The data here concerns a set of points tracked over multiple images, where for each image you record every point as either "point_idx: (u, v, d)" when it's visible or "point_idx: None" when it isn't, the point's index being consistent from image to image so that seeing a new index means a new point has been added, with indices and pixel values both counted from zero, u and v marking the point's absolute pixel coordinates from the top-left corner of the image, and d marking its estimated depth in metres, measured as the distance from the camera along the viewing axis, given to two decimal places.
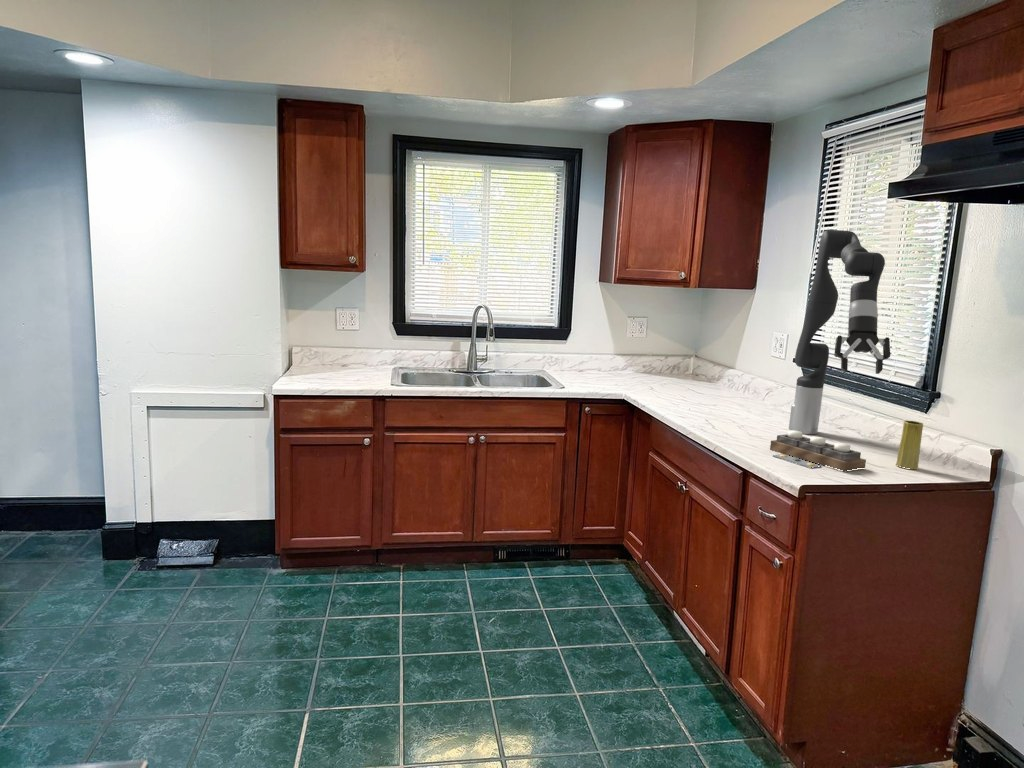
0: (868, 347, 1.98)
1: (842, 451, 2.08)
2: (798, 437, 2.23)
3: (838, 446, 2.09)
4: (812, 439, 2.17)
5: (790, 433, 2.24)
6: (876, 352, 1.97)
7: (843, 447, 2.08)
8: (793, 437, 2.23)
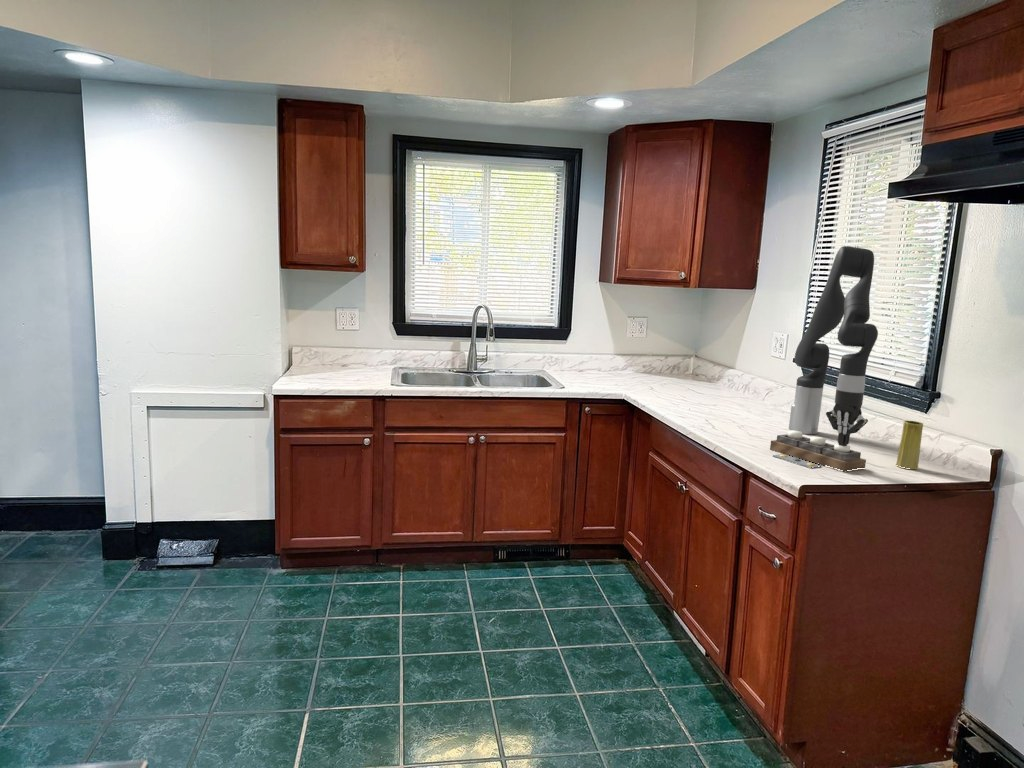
0: (844, 418, 2.08)
1: (842, 452, 2.08)
2: (798, 437, 2.23)
3: (838, 447, 2.09)
4: (812, 439, 2.17)
5: (790, 433, 2.24)
6: (844, 426, 2.08)
7: (843, 448, 2.08)
8: (793, 437, 2.23)
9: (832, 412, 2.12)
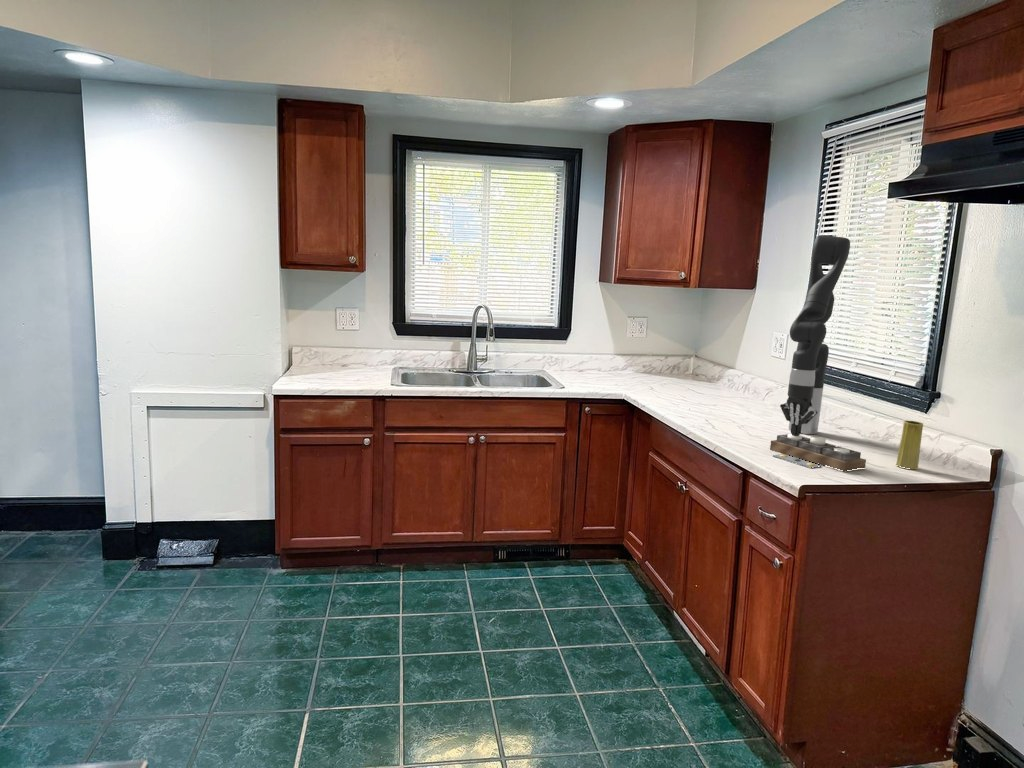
0: (796, 409, 2.22)
1: None
2: None
3: None
4: (812, 439, 2.17)
5: (790, 437, 2.24)
6: (796, 417, 2.22)
7: (842, 452, 2.08)
8: None
9: (786, 404, 2.27)
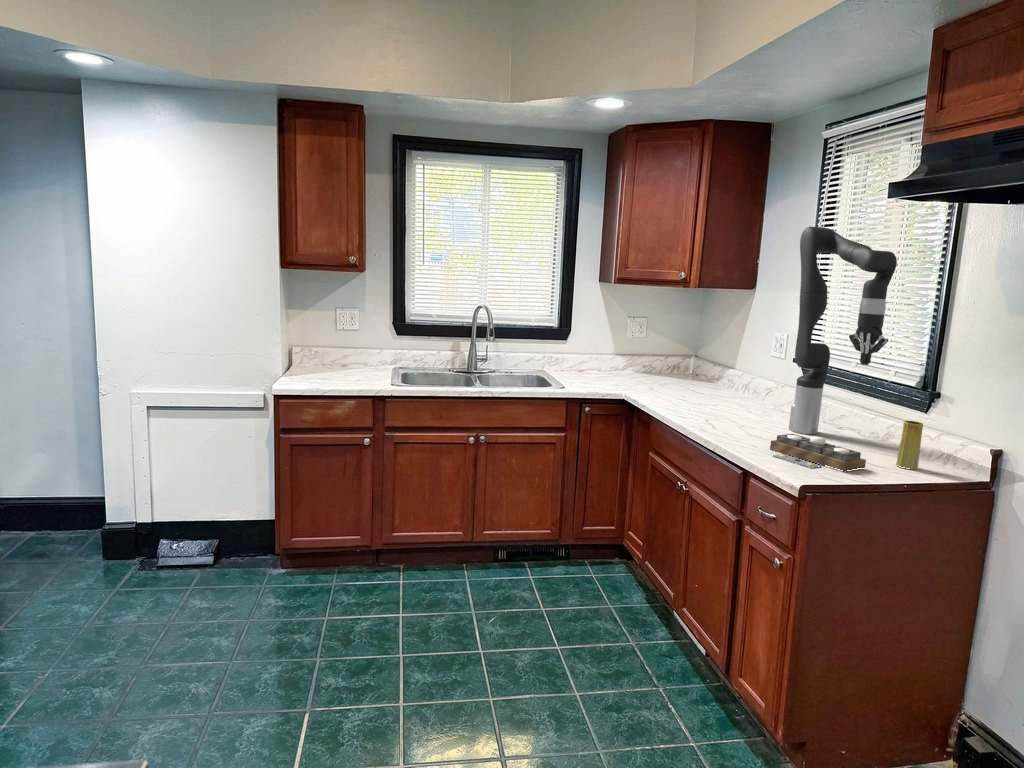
0: (866, 338, 2.27)
1: None
2: None
3: None
4: (812, 439, 2.17)
5: None
6: (866, 346, 2.27)
7: (842, 452, 2.08)
8: None
9: (855, 335, 2.32)
